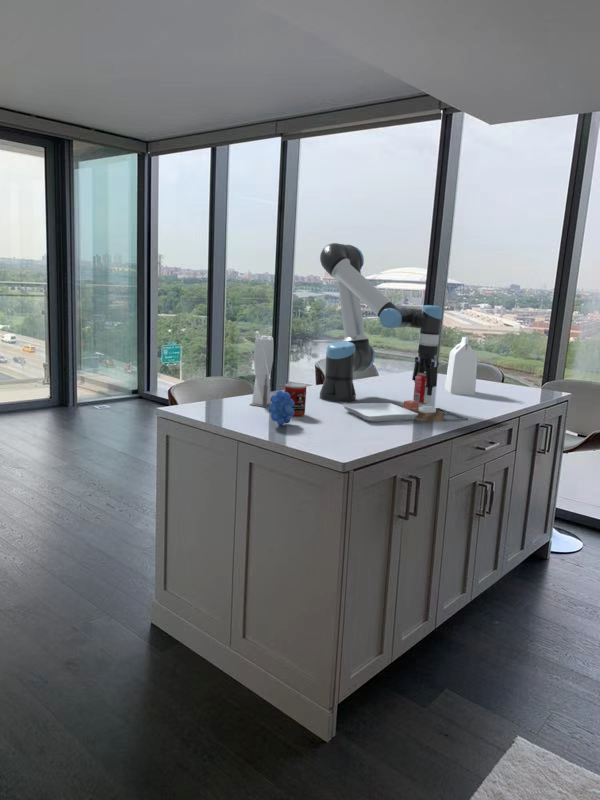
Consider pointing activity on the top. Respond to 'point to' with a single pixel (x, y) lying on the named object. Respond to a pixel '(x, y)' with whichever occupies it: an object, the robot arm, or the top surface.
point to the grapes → (281, 407)
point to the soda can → (420, 388)
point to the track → (452, 414)
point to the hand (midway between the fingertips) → (421, 400)
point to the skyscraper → (262, 370)
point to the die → (410, 404)
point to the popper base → (428, 415)
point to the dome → (427, 409)
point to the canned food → (297, 397)
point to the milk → (462, 369)
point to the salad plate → (380, 412)
